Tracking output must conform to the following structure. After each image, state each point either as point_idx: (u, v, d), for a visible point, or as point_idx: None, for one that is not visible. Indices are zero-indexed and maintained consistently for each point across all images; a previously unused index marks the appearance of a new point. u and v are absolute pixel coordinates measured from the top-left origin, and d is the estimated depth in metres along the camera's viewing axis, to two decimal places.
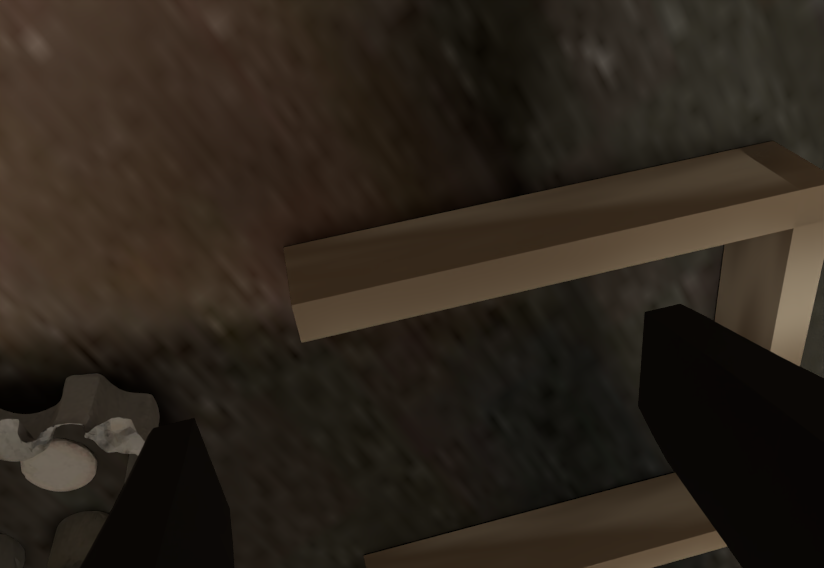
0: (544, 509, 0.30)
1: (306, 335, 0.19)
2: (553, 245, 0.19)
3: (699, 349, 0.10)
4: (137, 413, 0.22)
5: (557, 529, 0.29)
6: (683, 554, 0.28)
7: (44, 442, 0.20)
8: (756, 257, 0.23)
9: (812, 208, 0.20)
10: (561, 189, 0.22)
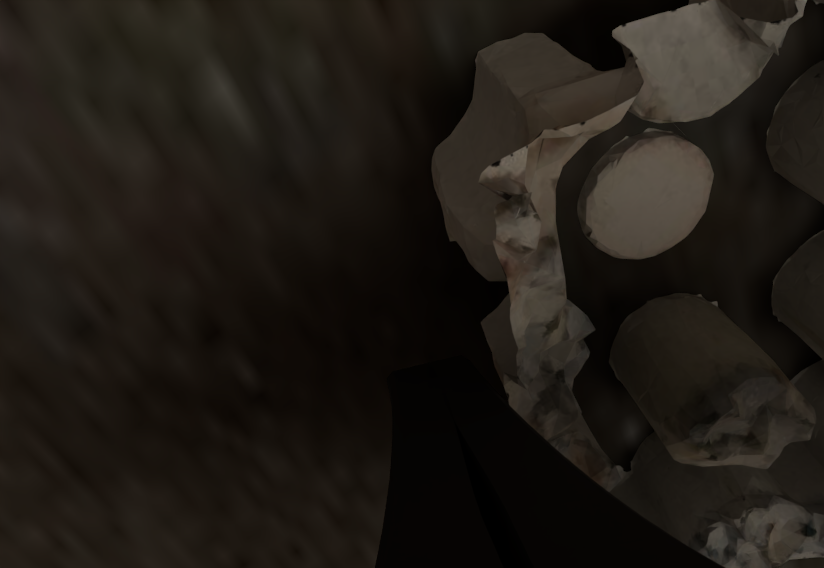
0: None
1: None
2: None
3: (450, 410, 0.10)
4: None
5: None
6: None
7: (782, 40, 0.09)
8: None
9: None
10: None
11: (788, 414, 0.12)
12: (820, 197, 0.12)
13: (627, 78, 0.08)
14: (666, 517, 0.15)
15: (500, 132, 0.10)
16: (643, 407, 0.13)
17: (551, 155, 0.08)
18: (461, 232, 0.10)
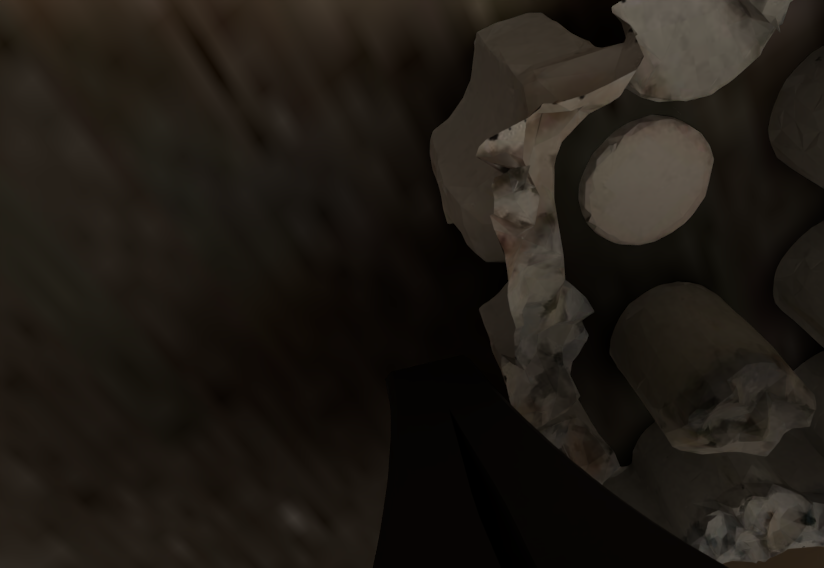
0: None
1: None
2: None
3: (452, 409, 0.10)
4: None
5: None
6: None
7: (783, 17, 0.09)
8: None
9: None
10: None
11: (788, 400, 0.11)
12: (821, 181, 0.11)
13: (626, 53, 0.08)
14: (664, 507, 0.15)
15: (498, 111, 0.10)
16: (642, 394, 0.13)
17: (549, 130, 0.08)
18: (458, 212, 0.10)
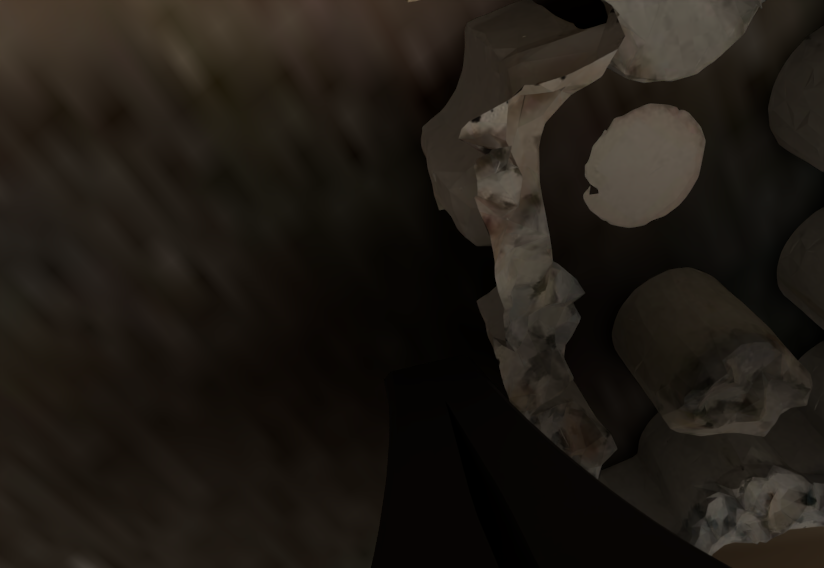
0: None
1: None
2: None
3: (454, 409, 0.10)
4: None
5: None
6: None
7: None
8: None
9: None
10: None
11: (783, 379, 0.11)
12: (812, 160, 0.11)
13: (607, 33, 0.08)
14: (666, 491, 0.15)
15: (485, 96, 0.10)
16: (639, 377, 0.13)
17: (533, 112, 0.08)
18: (448, 197, 0.10)
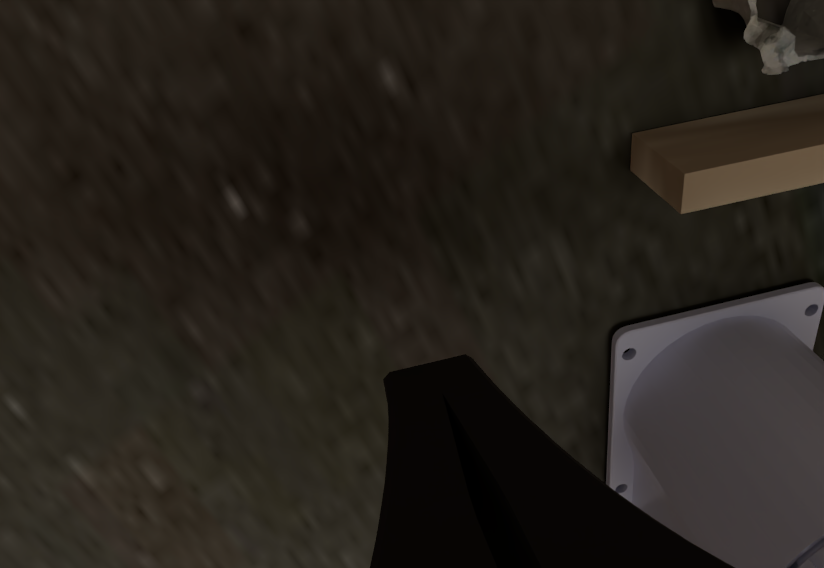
0: None
1: None
2: None
3: (455, 408, 0.10)
4: None
5: None
6: None
7: None
8: None
9: None
10: None
11: None
12: None
13: None
14: (814, 29, 0.20)
15: None
16: None
17: None
18: None
